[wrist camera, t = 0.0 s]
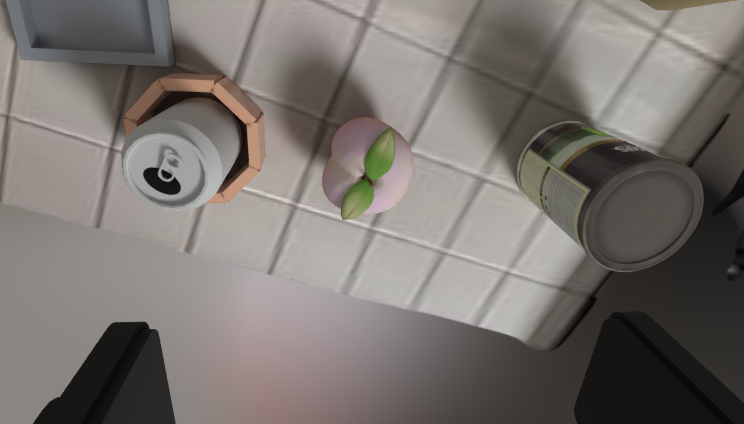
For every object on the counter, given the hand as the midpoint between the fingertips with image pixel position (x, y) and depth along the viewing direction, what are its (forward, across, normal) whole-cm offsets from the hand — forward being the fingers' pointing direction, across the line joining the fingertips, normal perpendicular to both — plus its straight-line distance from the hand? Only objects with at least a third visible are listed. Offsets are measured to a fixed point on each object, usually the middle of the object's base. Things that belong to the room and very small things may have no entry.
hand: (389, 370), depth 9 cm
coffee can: (+37, -25, +7) cm, 45 cm away
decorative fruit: (+37, -3, +6) cm, 38 cm away
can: (+37, +13, +5) cm, 39 cm away
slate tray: (+37, +21, -8) cm, 43 cm away
